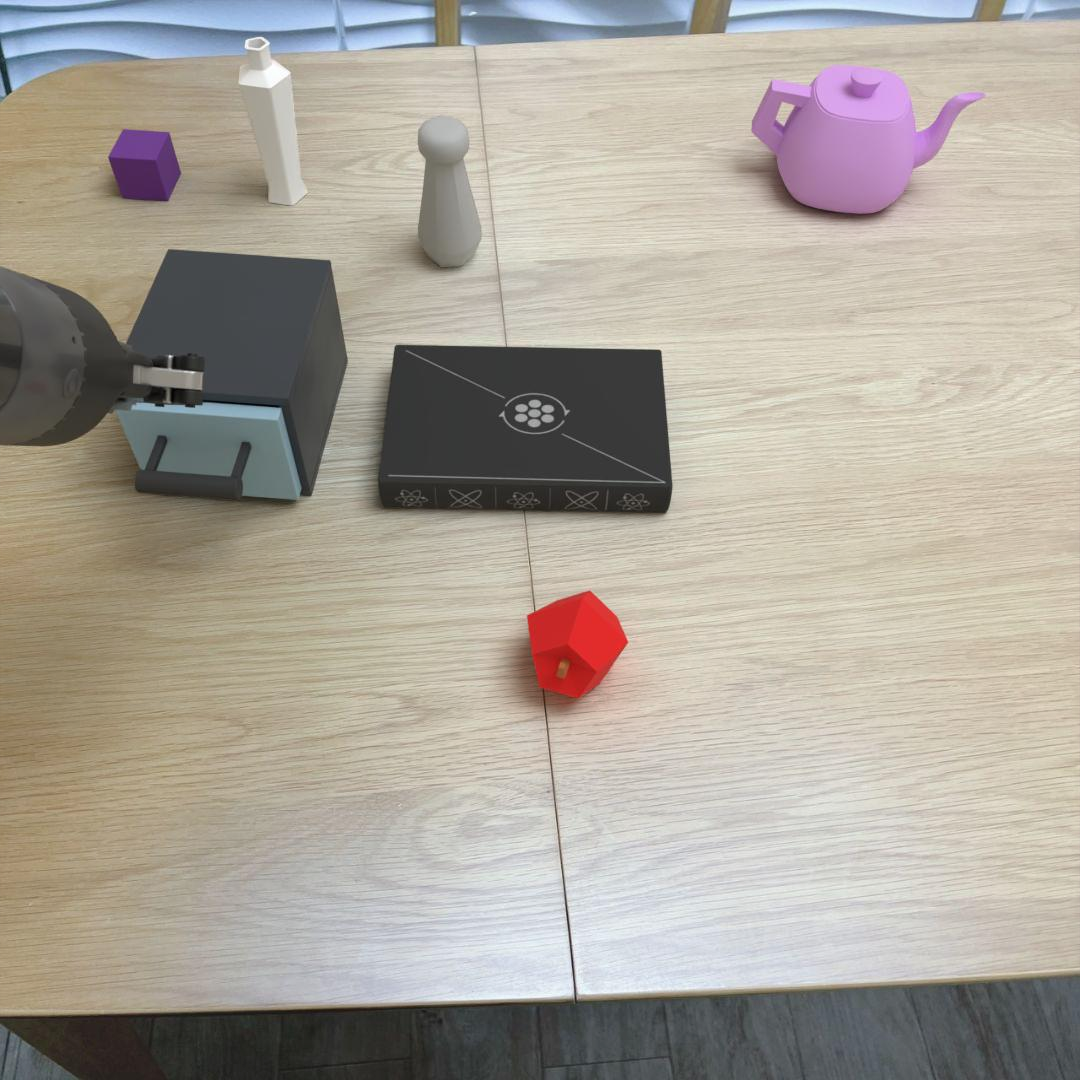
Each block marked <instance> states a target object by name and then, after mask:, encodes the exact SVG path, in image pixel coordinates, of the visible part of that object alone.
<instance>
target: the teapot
mask: <svg viewBox="0 0 1080 1080" xmlns="http://www.w3.org/2000/svg"><path fill="white" fill-rule="evenodd" d="M986 96H987V94H986V93H984V92H982V91H981V92H980V91H969V92H962V93H959V94H956V95H954V96H953V97H951V98H950V99H948V100H947V101H946V102H945V104H944V105H943V106H942V108H941V110H940V111H939V113H938V115H937V117H936V119H935V120H934V121H933V123H932V124H930V126H928V127H926V128H925V129H922V130H920V131H917V127H916V118H915V112H914V108H913V103H912V99H911V95H910V92H909V89H908V86H907V84H906V83H905V82H904V80H903V79H902V77H900V76H899V75H897V74H896V73H895V72H893V71H889V70H887V69H881V68H877V67H869V66H862V65H861V66H860V65H848V64H836V65H831V66H828V67H826V68H824V69H823V70H821V71H820V72H819V74H817V76H816V77H815V78H814V79H813V80H812V82H811V83H810V84H809V85H806V84H800V83H797V82H790V81H786V80H780V79H775V78H772V79H771V81H770V82H769V85H768V87H767V88H766V90H765V93H764V95H763V97H762V99H761V101H760V103H759V105H758V107H757V109H756V112H755V113H754V116H753V118H752V120H751V131H750V132H751V133H752V134H753V135H754V136H755V137H756V138H757V139H758V140H759V141H760V142H761V143H762V144H763V145H765V146H766V147H767V148H768V149H769V150H770V151H771V152H773V154H775V155H776V163H777V164H776V165H777V168H778V172H779V174H780V177H781V179H782V182H783V184H784V186H785V188H786V189H787V191H788V193H789V194H790V195H791V197H792V198H793V199H795V200H796V201H797V202H799V203H801V204H802V205H804V206H807V207H811V208H814V209H819V210H824V211H830V212H836V213H846V214H860V215H861V214H862V215H863V214H874V213H878V212H880V211H882V210H884V209H885V208H887V207H889V206H890V205H891V204H893V203H894V202H895V201H896V200H897V199H899V198H900V196H901V195H902V194H903V192H904V191H905V190H906V188H907V187H908V185H909V184H910V181H911V178H912V175H913V171H914V170H915V169H917V168H919V167H922V166H924V165H926V164H928V163H929V162H930V161H932V160H933V159H934V158H935V157H936V156H937V155H938V153H939V152H940V151H941V149H942V147H943V146H944V143H945V142H946V140H947V137H948V136H949V133H950V131H951V128H952V126H953V124H954V123H955V121H956V119H957V117H958V116H959V115H960V113H961V112H962V111H963V110H964V109H965V108H967V107H968V106H971V105H972V104H974V103H976V102H977V101H980V100H982V99H984V98H985V97H986ZM782 103H785V104H788V105H792V106H793V108H792V109H791V111H790V113H789V115H788V117H787V118H786V121H785V123H784V125H783V124H782V123H781V122H780V121H778V119H777V117H778V115H779V114H778V113H779V111H780V108H781V105H782Z"/></svg>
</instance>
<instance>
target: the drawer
mask: <svg viewBox="0 0 1080 1080" xmlns="http://www.w3.org/2000/svg"><path fill="white" fill-rule="evenodd" d="M164 406H165V407H156V406H155V404H152V403H136V405H132V408H131V410H130V411H127V410H114V412H115V413H116V416H117V418H118V420H119V422H120V424H121V427H122V429H123V432H124V434H125V437H126V439H127V441H128V442H129V443H128V444H129V445H130V448H131V450H132V453H133V455H134V457H135V460H136V462H137V464H138V467H139V469H138V470H137V471H136V473H135V476H134V482H133V483H134V489H135V491H136V493H137V494H148V495H161V496H174V497H187V498H196V499H197V498H199V499H210V500H212V499H213V500H223V501H224V500H225V501H236V502H238V501H240V500H241V499H242V497H254V498H266V499H267V498H268V499H280V500H292V501H298V500H299V499H300V496H301V495H300V492H301V489H302V488H301V484H300V480H299V476H298V472H297V468H296V464H295V460H294V456H293V452H292V448H291V444H290V441H289V437H288V433H287V429H286V425H285V421H284V417H283V413H282V409H281V408H279V406H278V405H265V404H251V403H238V402H224V401H211V400H203V406H200V405H195V408H189V407H185V405H164Z"/></svg>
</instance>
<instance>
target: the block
mask: <svg viewBox="0 0 1080 1080" xmlns="http://www.w3.org/2000/svg"><path fill="white" fill-rule="evenodd" d="M107 159H108V161H109V164H110V167H111V170H112V173H113V176H114V178H115V179H114V180H115V181H116V184H117V187H118V190H119V193H120V196H121V198H122V199H131V200H133V199H134V200H145V201H146V200H147V201H160V202H168V201H169V200H170V198H171V195H172V193H173V192H174V189H175V187H176V185H177V182H178V180H179V178H180V176H181V174H182V171H181V168H180V165H179V161H178V157H177V154H176V151H175V147H174V143H173V140H172V136H171V133H170V131H157V130H145V129H144V130H143V129H142V130H141V129H128V128H127V129H126V128H123V129H122V130H121V132H120V134H119V136H118V138H117V139H116V141H115V143H114V145H113V147H112V149H111V151H110V152H109V154H108V155H107Z"/></svg>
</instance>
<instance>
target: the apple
mask: <svg viewBox="0 0 1080 1080" xmlns="http://www.w3.org/2000/svg"><path fill="white" fill-rule="evenodd" d="M526 619H527V626H528V633H529V635H528V636H529V641H530V642H529V643H530V649H531V656H532V660H533V664H534V665H533V666H534V668H535V673H536V677H537V681H538V686H539V688H540V689H543V690H546V691H547V690H548V691H550V692H555V693H558V694H562V695H566V696H569V697H572V698H576V699H581V698H582V697H583V696H584V695H587V693H589V692H591V691H592V690H593V689H595V688H596V687H597V686H599V685H600V684H601V683H602V681H603V680H604V679H605V677H606V676H607V674H608V673H609V671H610V670H611V669H612V667H613V666H614V664H615V662H616V661H617V659H618V658H619V657H620V656H621V654H622V653H623V651H624V649H625V648H626V647H627V645H628V644H629V641H628V638H627V635H626V634H625V631H624V629H623V627H622V624H621V622H620V619H619V618H618V616H617V615H616V614H615V613H614V612H613V611H612V610H611V609H610V608H609V607H608V606H607V605H606V604H605V603H604V602H603V601H602V600H601V599H600V598H599V597H598V596H597V595H595V594H594V592H593V591H592V590H590V589H589V590H586V591H582V592H579V593H577V594H573V595H570V596H567V597H564V598H560V599H558V600H557V599H556V600H555V601H553V602H551V603H548V604H546V605H544V606H543V607H540V608H539V609H537V610H535V611H532V612H531V613H529V614H527V615H526Z"/></svg>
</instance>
